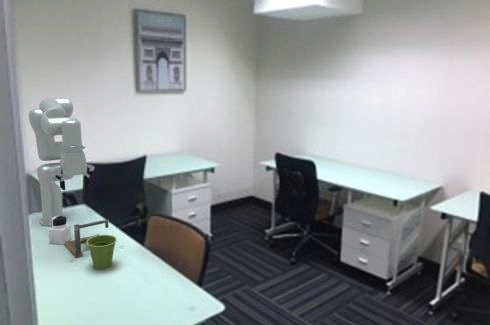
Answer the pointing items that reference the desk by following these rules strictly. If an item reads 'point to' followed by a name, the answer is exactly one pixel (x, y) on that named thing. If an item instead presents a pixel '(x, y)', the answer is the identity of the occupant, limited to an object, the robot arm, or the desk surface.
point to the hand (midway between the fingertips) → (75, 187)
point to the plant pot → (102, 250)
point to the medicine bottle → (59, 230)
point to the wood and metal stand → (80, 244)
